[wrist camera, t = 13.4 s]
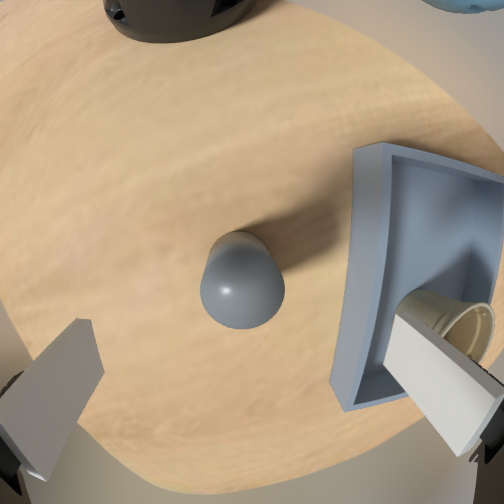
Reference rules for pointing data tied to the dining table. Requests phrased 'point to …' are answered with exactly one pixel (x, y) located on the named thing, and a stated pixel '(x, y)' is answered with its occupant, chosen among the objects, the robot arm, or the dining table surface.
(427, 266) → the tote
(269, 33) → the dining table surface
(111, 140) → the dining table surface
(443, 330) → the flower pot
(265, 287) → the canister
